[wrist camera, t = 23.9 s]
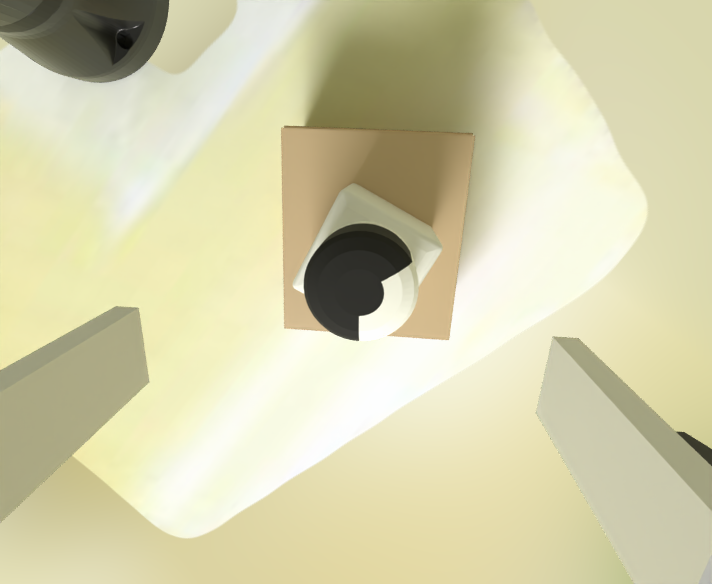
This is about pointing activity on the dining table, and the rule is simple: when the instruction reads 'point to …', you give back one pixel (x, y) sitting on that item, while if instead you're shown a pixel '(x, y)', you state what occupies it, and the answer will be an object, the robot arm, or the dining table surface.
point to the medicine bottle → (366, 266)
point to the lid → (388, 181)
